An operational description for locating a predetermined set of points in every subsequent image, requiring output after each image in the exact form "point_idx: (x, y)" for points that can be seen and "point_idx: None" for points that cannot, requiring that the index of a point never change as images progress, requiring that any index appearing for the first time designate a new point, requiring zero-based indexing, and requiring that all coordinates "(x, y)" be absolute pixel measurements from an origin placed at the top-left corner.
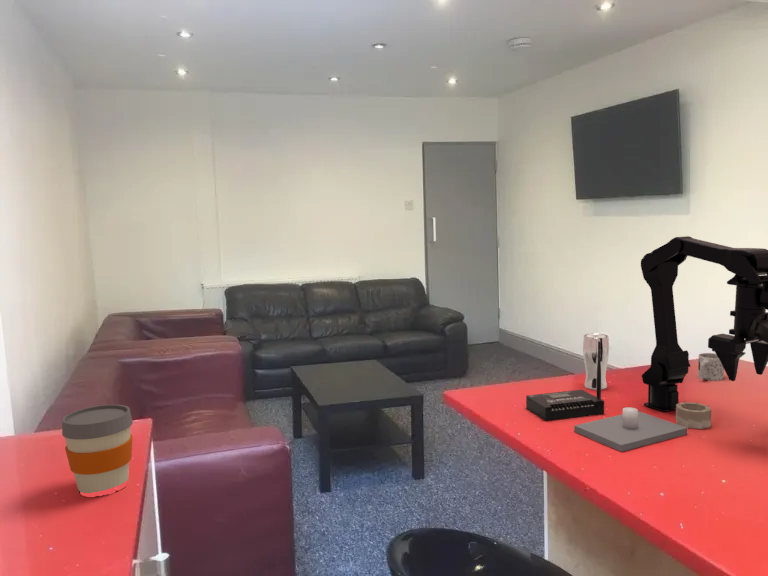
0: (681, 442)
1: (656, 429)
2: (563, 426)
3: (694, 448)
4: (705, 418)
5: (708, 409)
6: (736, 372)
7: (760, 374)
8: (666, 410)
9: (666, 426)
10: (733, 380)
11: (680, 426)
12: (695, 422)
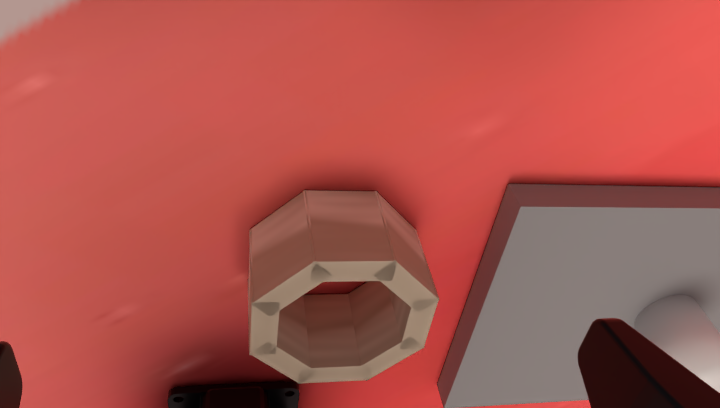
0: (641, 134)
1: (639, 255)
2: None
3: (695, 52)
4: (358, 229)
5: (316, 273)
6: (696, 406)
7: (9, 346)
8: (281, 384)
9: (568, 258)
10: (619, 325)
11: (523, 231)
12: (402, 233)
